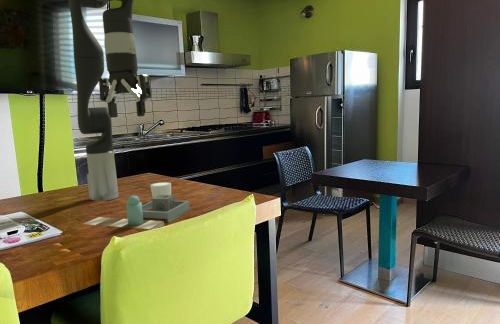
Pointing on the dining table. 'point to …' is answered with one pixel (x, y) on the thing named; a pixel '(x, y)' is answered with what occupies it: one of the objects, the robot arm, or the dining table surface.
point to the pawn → (134, 211)
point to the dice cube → (164, 203)
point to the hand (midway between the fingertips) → (127, 116)
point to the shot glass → (160, 189)
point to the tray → (171, 215)
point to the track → (124, 223)
